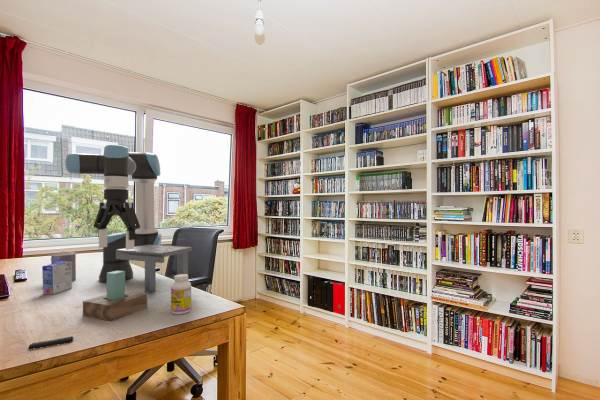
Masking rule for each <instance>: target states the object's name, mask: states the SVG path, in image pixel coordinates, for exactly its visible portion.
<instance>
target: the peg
mask: <svg viewBox="0 0 600 400" xmlns="http://www.w3.org/2000/svg"><path fill="white" fill-rule="evenodd" d="M125 291H126V280H125V271H113V272H108V273H107V282H106V294H107V300H112V301H115V300H118V299H121V298H125Z"/></svg>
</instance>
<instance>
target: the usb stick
mask: <svg viewBox="0 0 600 400" xmlns="http://www.w3.org/2000/svg"><path fill="white" fill-rule="evenodd" d="M73 341H74V336H67V337H62V338H55V339H50V340H44V341H38V342H32V343H31V344H29V345H28V350H29V349H32V350H34V349H33V348H37V349H41V348H40V347H43V348H48V347H47V346H49V347H53V345H54V346H58V345H57V344H60V345H65V344H69V343H70V342H71V343H73ZM64 343H65V344H64Z"/></svg>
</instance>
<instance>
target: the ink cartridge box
mask: <svg viewBox="0 0 600 400" xmlns="http://www.w3.org/2000/svg"><path fill="white" fill-rule="evenodd" d="M55 259H56V260H58V261H53V260H55ZM51 261H52V263H53V264H51V263H50V264H46V265H42V267H41V269H42V273H41V275H42V294H43V295H44V294H45V295H55V294H57V293H61V292H63V291H67V290H70V289H72V288H73V281H72V262H65V261H62V262H60V260H59V258H53V259H51V258H50V262H51Z"/></svg>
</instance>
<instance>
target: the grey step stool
mask: <svg viewBox="0 0 600 400" xmlns="http://www.w3.org/2000/svg"><path fill="white" fill-rule="evenodd" d="M192 249H193V247H192V246H176V245H163V244H162V245H144V246H137V247H134V249H129V250H126V248H124V249H118V250H116V259H123V260H129V261H135V262H144V293H152V292H156V286H157V285H156V284H157V283H156V281H157V280H156V278H157V277H156V273H157V272H156V271H157V270H156V263H159V264H163V263H165V258H166V257H171V256H174V255H176V257H177V259H176V260H177V261H176V265H177V266H176V270H177V271H176V275H179V274H187V275H188V276H189V252H192V251H193V250H192Z"/></svg>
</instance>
